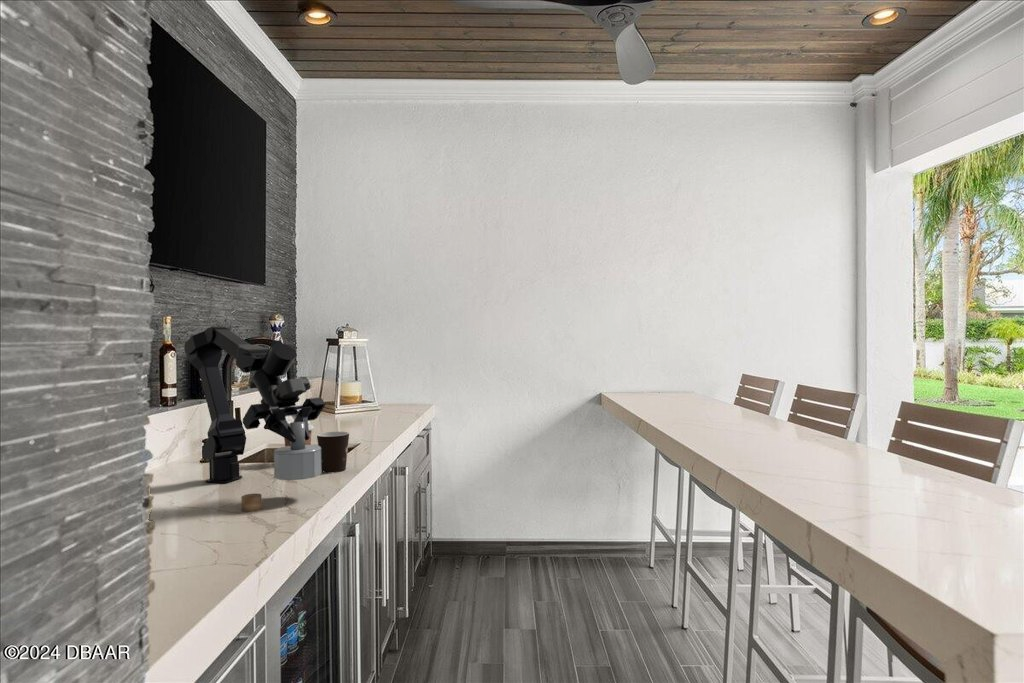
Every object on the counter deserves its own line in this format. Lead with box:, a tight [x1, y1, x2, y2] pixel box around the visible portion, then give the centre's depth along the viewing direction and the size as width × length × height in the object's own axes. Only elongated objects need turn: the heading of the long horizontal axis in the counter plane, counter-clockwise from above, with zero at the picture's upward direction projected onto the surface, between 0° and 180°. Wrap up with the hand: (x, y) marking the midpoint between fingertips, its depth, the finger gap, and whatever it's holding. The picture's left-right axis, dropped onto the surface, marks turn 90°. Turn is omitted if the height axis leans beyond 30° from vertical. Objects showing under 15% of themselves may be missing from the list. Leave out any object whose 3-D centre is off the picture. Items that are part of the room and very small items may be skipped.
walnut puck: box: [240, 493, 263, 513], centre depth 134 cm, size 4×4×3 cm
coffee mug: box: [316, 431, 350, 473], centre depth 173 cm, size 12×9×10 cm
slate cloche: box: [273, 422, 322, 481], centre depth 142 cm, size 10×10×12 cm
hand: (301, 440), depth 141 cm, fingers closed on slate cloche, 3 cm apart
